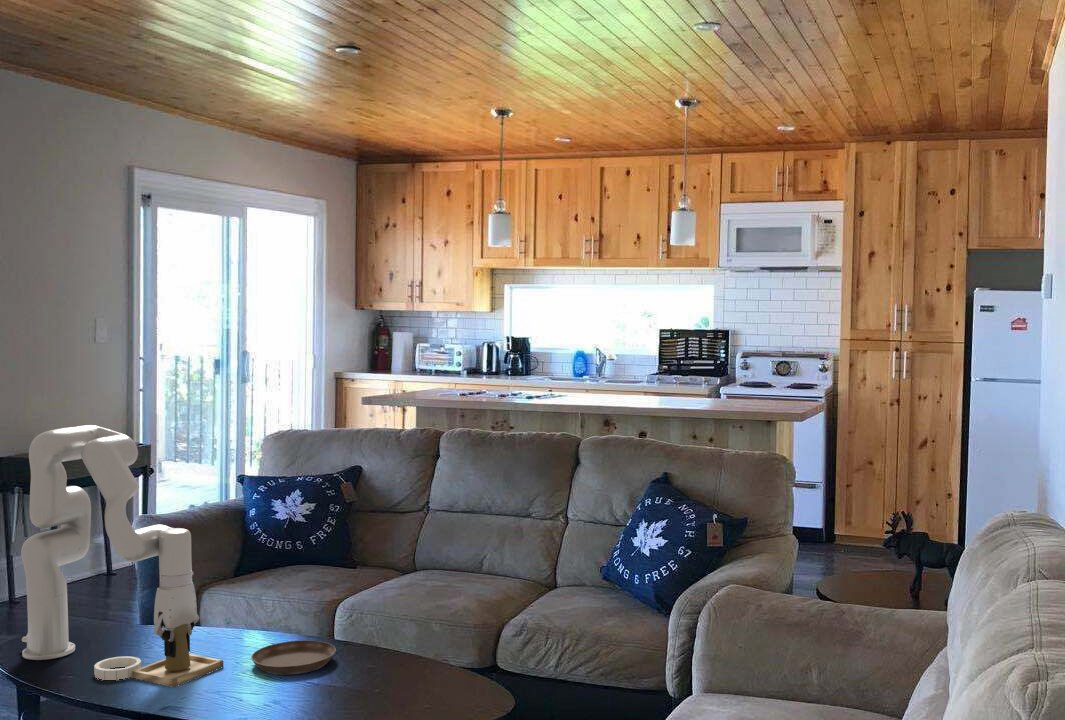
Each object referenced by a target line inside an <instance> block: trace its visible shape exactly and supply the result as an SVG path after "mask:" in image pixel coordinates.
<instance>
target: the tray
mask: <svg viewBox="0 0 1065 720" xmlns="http://www.w3.org/2000/svg"><path fill="white" fill-rule="evenodd" d="M189 657H190V664H191V666H190V667H188V668H186V669H182V670H167V669H165V662H166V657H165V658H163V659H159V660H158V661H155V662H153V663H150V664H147V665H144V666H142V668H139V669H136V670H134V671H132V677H131V678H132V679H133V678H136V679H135V680H137V679H140V680H139V681H142V680H145V681H144V682H147V681H149V682H148V683H151V682H153V683H152V684H156V683H158V684H157V685H160V684H162V685H161V686H165V685H167V686H166V687H170V686H172V687H171V688H174V687H175V688H176V686H177V687H179V686H181V684H182V685H184V684H186V683H185V682H187V683H188V681H189V682H191V681H190V680H192V681H193V679H194V680H196V679H199V678H201V677H203V675H204V676H205V674H206V675H208V674H207V673H209V672H211V673H213V672H215V671H214V670H216V669H218V670H220V669H219V668H221V667H223V668H224V660H223V659H219V658H215V657H214V658H213V657H208V656H204V655H198V654H193V653H189ZM221 669H222V668H221ZM212 671H213V672H212ZM216 671H217V670H216ZM209 674H210V673H209ZM200 676H201V677H200ZM198 677H199V678H198ZM195 678H196V679H195ZM183 683H184V684H183ZM178 685H179V686H178Z"/></svg>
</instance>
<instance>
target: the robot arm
mask: <svg viewBox="0 0 1065 720" xmlns="http://www.w3.org/2000/svg"><path fill="white" fill-rule="evenodd" d="M138 455H139V449H138V445H137V444H136V442H135V441H134V440H133V439H132V438H131V437H130V436H129V435H127V434H124V433H121V432H118V431H115V430H112V429H109V428H105V427H102V426H98V425H93V424H86V425H78V426H69V427H61V428H55V429H51V430H45V431H44V432H42V433H39V434H38V435H36V436H35V437H34V438H33V440H32V441H31V443H30V445H29V449H28V460H29V461H28V462H29V469H30V487H29V489H30V491H29V519H30V522H31V524H32V525H34V526H35V527H37V528H40V529H47V528H53V527H58V526H60V528H55V529H50V530H47V531H43V532H38V533H36V534H33V535H31V536H30V537H28V538H27V539H26V540H25V541H24V542H23V544H22V546H21V548H20V549H21V551H20V554H21V555H20V556H21V560H22V564H23V568H24V574H25V581H26V582H25V583H26V602H27V604H26V605H27V606H26V607H27V608H26V610H27V633H26V636H23V637H22V638H21V641H22V642H24V643H26V647H25V648H24V649H22V652H21V653H22V654H21V655H22V658H23V659H26V660H29V661H30V660H31V661H34V660H35V661H43V660H44V661H46V660H53V659H57V658H63V657H65V656H68V655H71V654H72V653H74V652H75V650H76V644H75V643H73V642H71V641H69V639H70V638H69V637H70V636H69V611H68V610H69V609H68V607H69V605H68V584H67V580H66V577H65V576H64V574H63V573H62V571H61V569H60V567H61V566H64V565H68V564H70V563H74V562H78V561H79V560H81V559H83V558H84V557H85V556H86V555H87V554H88V551H89V548H90V541H91V523H92V519H91V518H92V502H91V499H90V496H89V495H88V493H87V491H85V489H83V488H82V487H80V486H77V485H68V486H67V481H68V477H67V470H66V469H65V467H64V465H63V462H69V461H77V460H81V459H82V462H83V463H84V465H85V467H86V469H87V471H88V472H89V475H90V476H91V478H92V479H93V481H94V483H95V485H96V486H97V488H98V490H99V491H100V493H101V496H102V497H103V499H104V500H105V503H106V504H105V505H106V506H105V510H104V527H105V532H106V534H107V537H108V539H109V540H110V542H111V544H112V546H113V548H114V549H115V551H116V553H118V555H119V556H120V557H121V558H122V559H123V560H125V561H127V562H131V563H135V562H136V563H137V562H140V561H144V560H146V559H150V558H153V557H157V556H158V562H159V563H158V568H159V569H158V570H159V587H157V588H156V593H155V598H154V610H153V611H154V612H153V626H154V628H153V631H152V633H153V634H154V635H157V636H158V637H160V638H161V640H162V641H163V643H164V644H163V645H164V646H163V647H164V657H166V656H168V657H169V656H170V657H172V658H174V657H175V656H176V642H175V641H173V640H174V628H177V627H179V626H181V625H183V624H188V632H187V634H186V638H187V645H188V651H189V652H190V651H191V635H192V634H193V629H194V627H195V625H196V624H197V623H198V621H199V620H200V616H199V614H198V609H197V608H198V606H197V595H196V590H195V584H194V582H193V576H194V574H195V573H194V571H193V570H192V569H193V565H192V564H193V563H192V533H191V531H190V530H189V529H186V528H183V527H182V528H180V527H176V528H175V527H170V526H168V525H164V524H160V523H159V524H157V523H156V524H152V525H148V526H145V527H140V528H137V529H134V528H133V526H132V524H131V522H130V521H129V519H128V516H127V511H126V507H127V503H128V501H129V500H130V499H131V498H132V497H134V496H135V495H136V494H137V493H138V490H139V488H140V487H139V483H138V481H137V479H136V478H135V476H134V475H133V473H132V471H131V469H130V468H129V466H131V465H133V464H134V463H135V462H136V461H137V460H138ZM167 631H169V634H168V633H167Z"/></svg>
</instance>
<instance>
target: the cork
mask: <svg viewBox="0 0 1065 720" xmlns="http://www.w3.org/2000/svg"><path fill="white" fill-rule="evenodd" d="M187 632H188V624H183V625H181V626H179V627H177V628H174V640H173V641H175V642H176V656H175V657H174V658H172V657H170V656H169V657H168V656H165V658H166V662H165V669H167V670H182V669H186V668H188V667H190V666H191V664H190V657H189V654H190V653H189V652H190V651H188V645H187V638H186V634H187ZM167 633H168V634H169V631H167Z"/></svg>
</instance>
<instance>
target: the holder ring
mask: <svg viewBox="0 0 1065 720" xmlns="http://www.w3.org/2000/svg"><path fill="white" fill-rule="evenodd" d="M115 667H125V668H115ZM142 667H143V666H142V660H141V658H140V657H136V656H131V655H130V656H127V655H126V656H125V655H123V656H115V657H109V658H105V659H102V660H100V661H98V662H96V663H95V664H94V665H93V672H94V674H93V675H95V676H94V678H95V679H96V678H97V679H96V680H99V679H102V680H101V681H103V680H116V681H120V680H119V679H123V680H126V679H125V678H128V679H130V678H129V677H131V678H132V671H134V670H136V669H139V668H142ZM110 668H115V669H110ZM98 678H99V679H98Z"/></svg>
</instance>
